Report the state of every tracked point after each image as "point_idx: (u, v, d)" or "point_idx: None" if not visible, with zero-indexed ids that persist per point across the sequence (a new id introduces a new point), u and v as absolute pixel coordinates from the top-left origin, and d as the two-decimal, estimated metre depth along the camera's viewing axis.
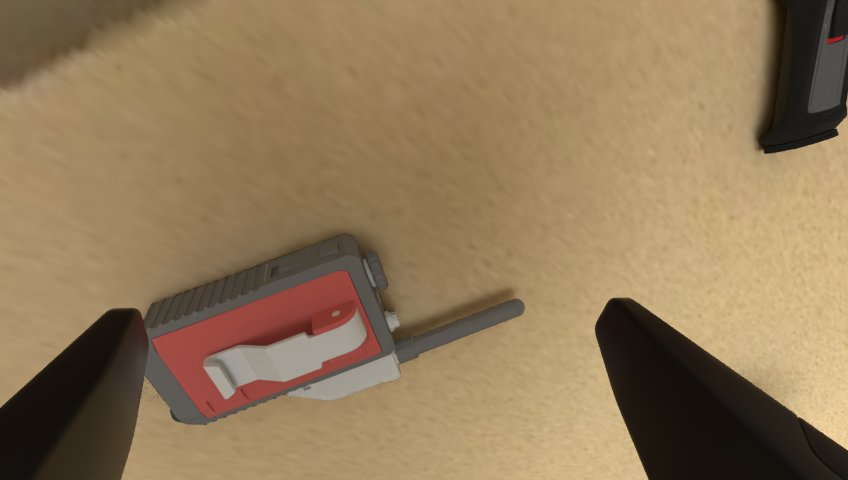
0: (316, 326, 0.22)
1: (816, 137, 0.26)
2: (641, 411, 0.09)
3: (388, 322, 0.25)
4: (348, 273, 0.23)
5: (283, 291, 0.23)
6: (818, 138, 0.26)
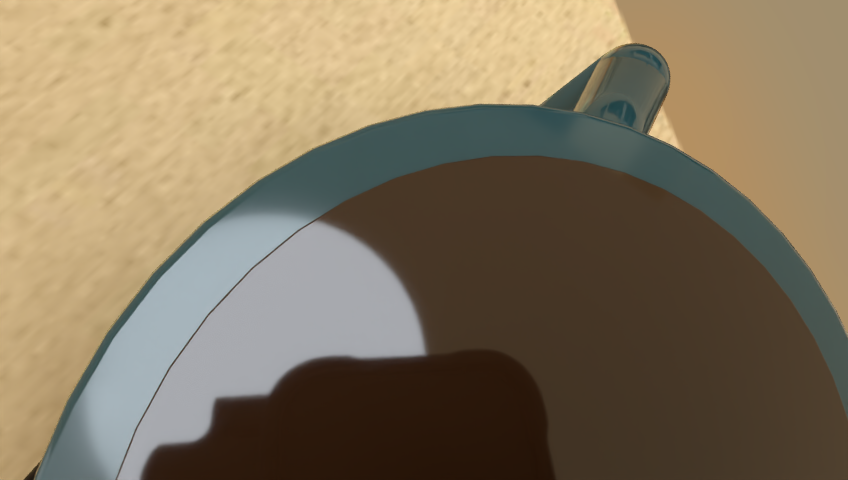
0: None
1: None
2: None
3: None
4: None
5: None
6: None
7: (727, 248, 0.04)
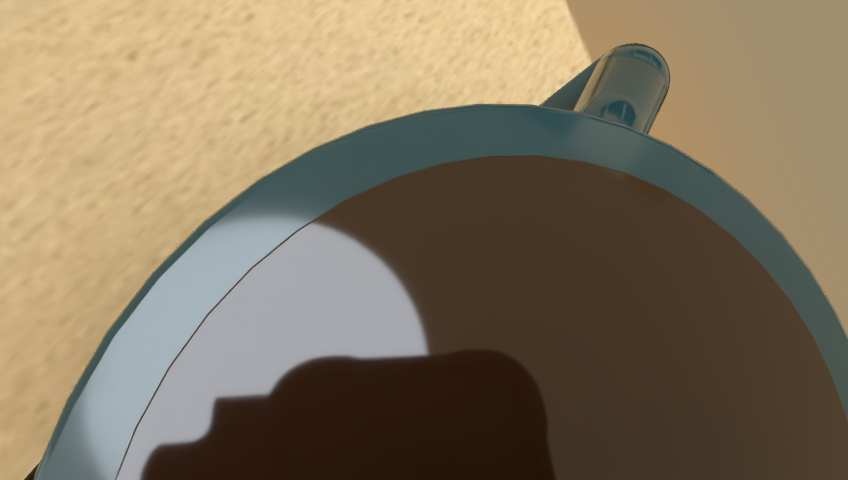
0: None
1: None
2: None
3: None
4: None
5: None
6: None
7: (724, 248, 0.04)
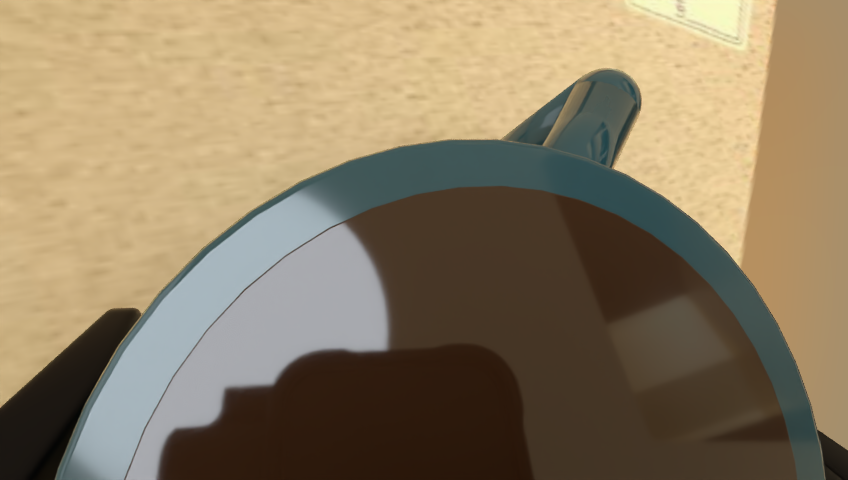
0: None
1: None
2: None
3: None
4: None
5: None
6: None
7: (673, 268, 0.05)
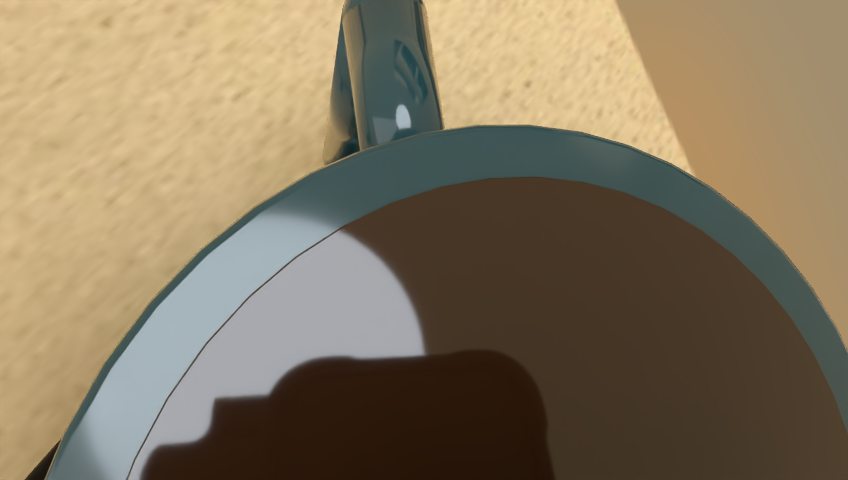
0: None
1: None
2: None
3: None
4: None
5: None
6: None
7: (536, 195, 0.04)
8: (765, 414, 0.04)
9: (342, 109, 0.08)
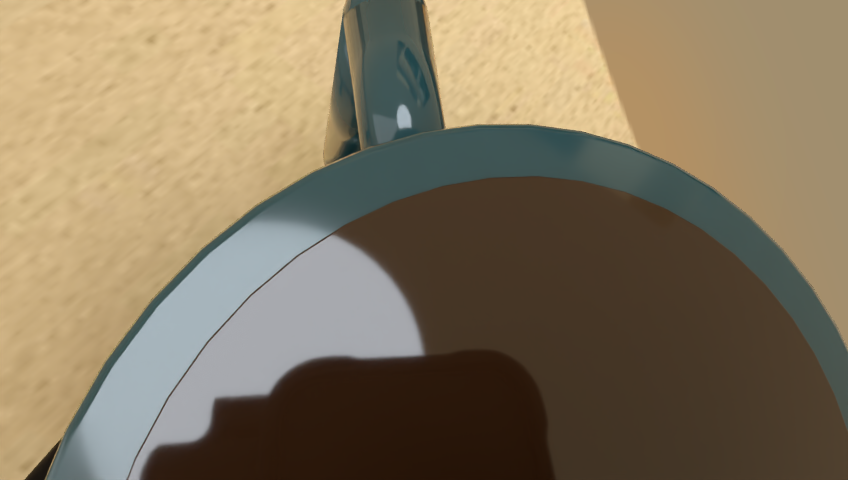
0: None
1: None
2: None
3: None
4: None
5: None
6: None
7: (537, 194, 0.04)
8: (765, 414, 0.04)
9: (342, 109, 0.08)
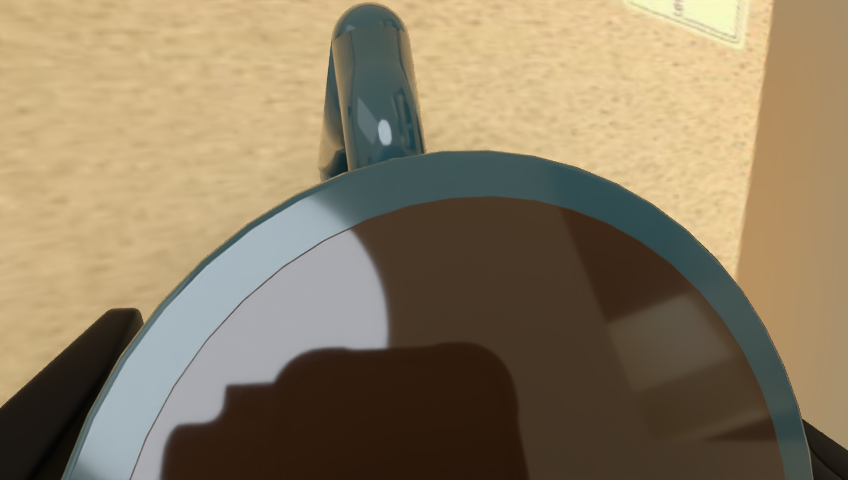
0: None
1: None
2: None
3: None
4: None
5: None
6: None
7: (494, 211, 0.04)
8: (697, 404, 0.05)
9: (334, 122, 0.09)
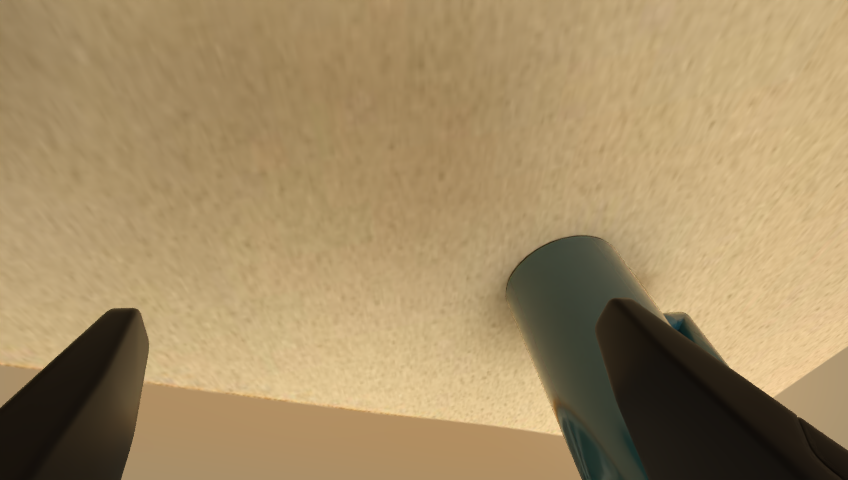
0: None
1: None
2: (641, 411, 0.09)
3: None
4: None
5: None
6: None
7: None
8: None
9: None
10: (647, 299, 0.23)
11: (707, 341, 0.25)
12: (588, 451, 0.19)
